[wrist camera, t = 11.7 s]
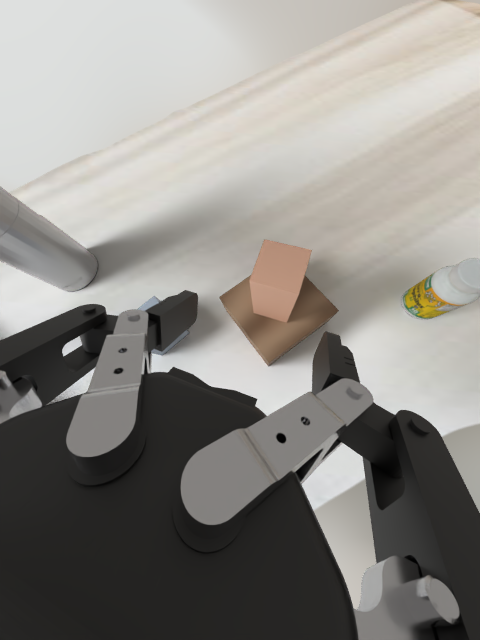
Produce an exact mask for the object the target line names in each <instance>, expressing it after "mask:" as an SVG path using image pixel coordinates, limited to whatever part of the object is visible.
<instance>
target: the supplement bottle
mask: <svg viewBox="0 0 480 640" xmlns="http://www.w3.org/2000/svg"><path fill="white" fill-rule="evenodd" d="M479 296H480V259H476V258H472V259H467V260H464V261H462V262H461V263H459V264H457V265H455V266H447V267H444V268H441V269H439V270H438V271H436V272H435V273H433V274H432V275H430V276H429V277H427V278H426V279H424V280H423V281H421V282H419V283H418V284H416V285H415V286H413V287H412V288H410V289H409V290H407V291H406V292H405V293H404V294H403V296H402V299H401V302H402V306H403V308H404V310H405V311H406V312H407V313H408V314H409V315H411V316H412V317H414V318H417V319H430V318H433V317H436V316H439V315H441V314H444V313H446V312H449V311H451V310H454V309H456V308H459V307H461V306H464V305H466V304H469V303H471V302H473V301H475V300H476V299H478V298H479Z"/></svg>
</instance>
